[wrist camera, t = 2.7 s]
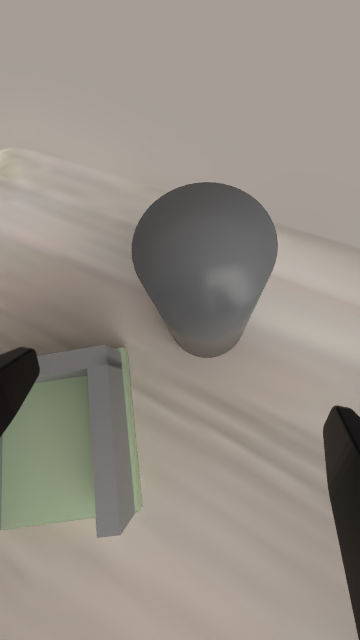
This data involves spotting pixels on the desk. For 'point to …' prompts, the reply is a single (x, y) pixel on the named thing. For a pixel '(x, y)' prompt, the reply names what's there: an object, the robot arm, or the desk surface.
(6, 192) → the desk surface
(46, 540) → the desk surface
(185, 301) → the gray capsule
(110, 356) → the tray
